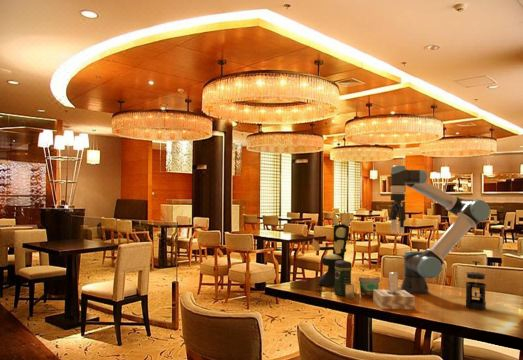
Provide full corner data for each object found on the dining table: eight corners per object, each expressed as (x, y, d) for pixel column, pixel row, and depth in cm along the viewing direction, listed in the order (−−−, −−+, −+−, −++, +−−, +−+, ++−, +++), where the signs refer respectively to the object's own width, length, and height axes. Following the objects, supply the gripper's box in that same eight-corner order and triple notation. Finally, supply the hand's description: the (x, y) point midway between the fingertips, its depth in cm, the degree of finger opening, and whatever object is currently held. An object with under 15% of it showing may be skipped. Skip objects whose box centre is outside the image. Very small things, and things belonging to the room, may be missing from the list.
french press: (473, 304, 233) (474, 259, 234) (491, 308, 225) (491, 261, 225) (459, 307, 227) (459, 260, 227) (476, 311, 219) (476, 263, 219)
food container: (363, 297, 243) (364, 279, 243) (358, 295, 249) (358, 276, 249) (384, 297, 246) (384, 278, 246) (378, 294, 252) (378, 276, 252)
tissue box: (404, 301, 235) (404, 290, 236) (414, 309, 219) (414, 296, 220) (373, 301, 235) (373, 289, 236) (381, 308, 219) (381, 296, 220)
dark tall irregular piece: (310, 284, 278) (311, 210, 279) (333, 280, 293) (334, 210, 294) (334, 289, 264) (336, 211, 265) (357, 285, 279) (359, 211, 280)
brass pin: (352, 297, 243) (353, 284, 244) (354, 299, 239) (354, 285, 239) (344, 297, 243) (344, 283, 244) (346, 299, 239) (346, 285, 239)
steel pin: (396, 304, 230) (396, 272, 230) (398, 306, 225) (399, 273, 226) (387, 304, 230) (387, 272, 230) (390, 306, 225) (390, 273, 226)
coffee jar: (353, 295, 247) (354, 261, 248) (340, 296, 244) (341, 261, 245) (344, 292, 256) (344, 259, 257) (331, 292, 253) (332, 259, 254)
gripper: (384, 193, 263) (384, 230, 262) (397, 193, 238) (397, 234, 237) (397, 193, 263) (397, 230, 262) (412, 193, 238) (411, 234, 237)
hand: (397, 232), depth 250 cm, fingers open, 13 cm apart
